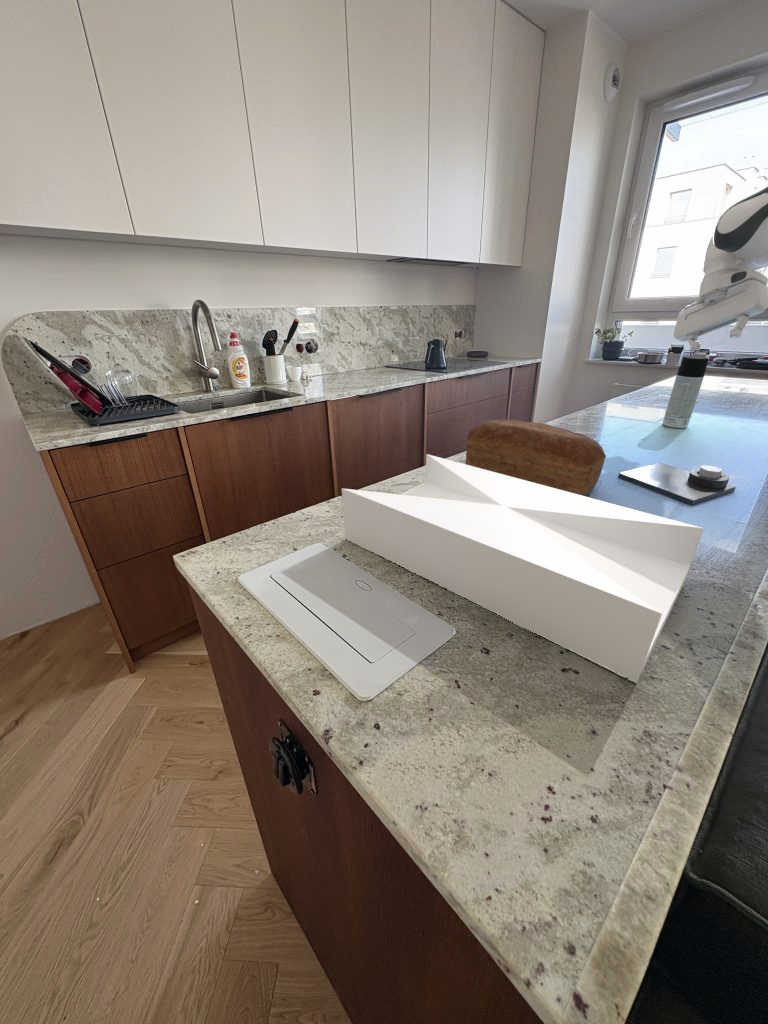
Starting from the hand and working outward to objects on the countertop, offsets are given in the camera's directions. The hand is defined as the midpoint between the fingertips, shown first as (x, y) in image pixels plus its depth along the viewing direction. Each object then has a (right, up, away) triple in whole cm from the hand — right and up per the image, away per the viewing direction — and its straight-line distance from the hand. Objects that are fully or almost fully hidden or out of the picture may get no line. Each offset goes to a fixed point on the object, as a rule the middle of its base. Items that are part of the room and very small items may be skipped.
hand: (714, 344), depth 106 cm
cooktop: (-21, -36, -16) cm, 45 cm away
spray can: (+6, -16, +23) cm, 29 cm away
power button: (-16, -35, -19) cm, 43 cm away
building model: (-66, -50, -41) cm, 92 cm away
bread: (-52, -36, -13) cm, 64 cm away
